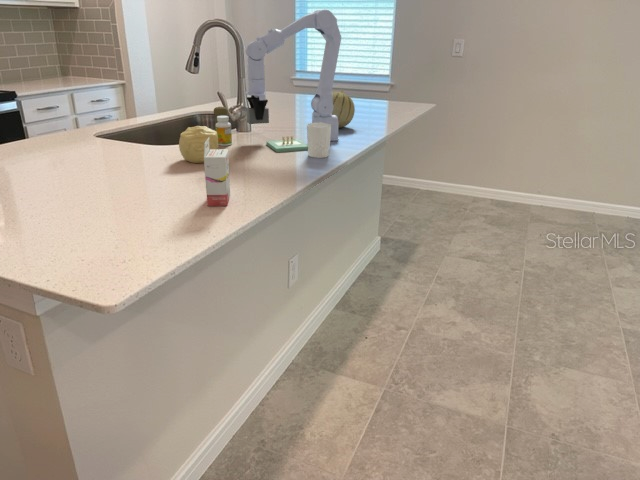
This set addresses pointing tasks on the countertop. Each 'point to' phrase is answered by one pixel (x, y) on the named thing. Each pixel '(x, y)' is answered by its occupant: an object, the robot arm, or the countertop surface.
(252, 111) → the block
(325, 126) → the white cup
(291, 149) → the board
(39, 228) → the countertop surface
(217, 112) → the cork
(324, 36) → the robot arm
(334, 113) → the ribbed yellow gourd
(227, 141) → the supplement bottle
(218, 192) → the ink cartridge box
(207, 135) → the pale yellow rounded piece
